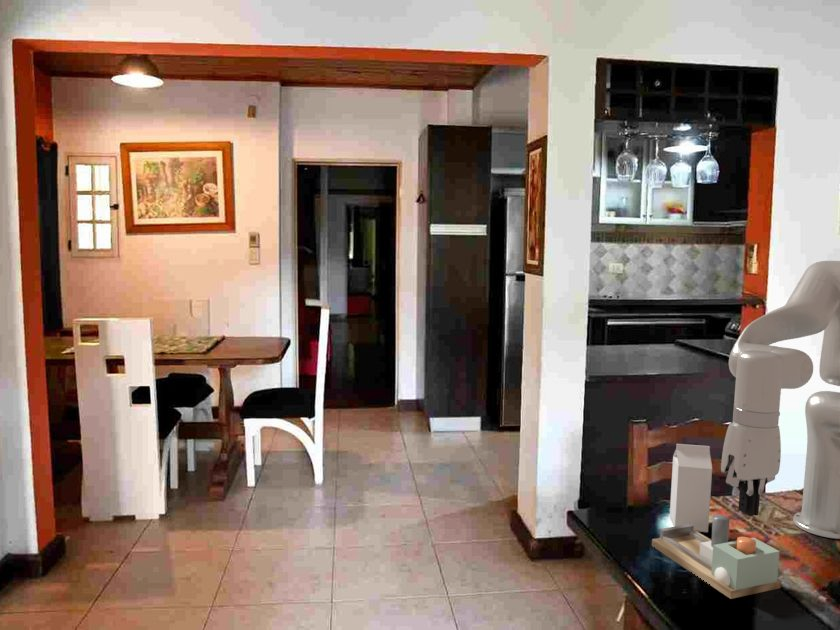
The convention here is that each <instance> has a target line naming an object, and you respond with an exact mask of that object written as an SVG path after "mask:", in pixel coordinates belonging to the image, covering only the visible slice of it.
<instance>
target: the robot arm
mask: <svg viewBox="0 0 840 630" xmlns="http://www.w3.org/2000/svg"><path fill="white" fill-rule="evenodd" d="M821 332H823V336H822V337H823V339H822V345H821V351H820V359H819V377H820V379H821V381H823V382H824V383H826V384H828V385H832V386H837V387H840V260H822V261H817V262H814V263H812V264H810V265H809V266H808V267H807V268H806V269H805V271H804V273H803V274H802V276H801V278H800V279H799V281H798V283H797V284H796V286H795V288H794V290H793V291H792V293H791V294H790V296H789V298H788V300H787V301H786V303H785V304H784V305H783V306H781V307H778V308H776V309H774V310H772V311H769V312H768V313H766V314H764V315H762V316H760V317H758V318H756V319H755V320H753V321H751V322H750V323H749V324H747V325H746V327H744V329H743V330H742V332H741V333H740V335H739V336H738V338H737V340H736V341H735V343H734V344H733V347H732V348H731V350H730V353H729V357H728V358H729V359H728V368H729V369H728V370H729V371H730V373H731V375H732V376H733V377H734V378H735V386H734V387H735V388H734V400H733V401H734V402H733V411H732V413H733V414H732V423H731V422H730V423H729V424H728V427H727V429H726V433H725V437H724V442H723V447H722V454H721V463H720V471H721V473H722V474H725V475H726V479H725V483H726V484H727V485H729V486H731V487H736V490H737V491H739V495H738V496H739V499H738V511H739V512H741V513H743V514H744V515H745V514H746V515H747V516H749V517H753V516H758V515H759V512H760V511H759V509H760V498H761V495H762V494H763V493H764V489H765V486H767V484H769V483H770V482H773V481H775V480H776V476H777V475H779V471H780V467H781V455H782V454H781V453H782V449H781V448H782V443H781V430H780V426H779V419H780V415H781V413H780V403H781V394H782V392H781V391H782V390H784V389H787V390H795V389H799V388H801V387H803V386H805V385H806V384H807V383H809V381H810V380H811V378H812V376H813V373H814V362H813V360H812V358H811V357H810V355H809V354H808V353H806V352H804V351H802V350H800V349H796V348H790V347H783V346H782V347H780V346H777V345H773V344H774V343H778V342H783V341H788V340H794V339H800V338H805V337H809V336H813V335H817V334H819V333H821ZM804 410H805V413H804V415H805V423H806V434H807V438H806V440H807V441H806V442H807V443H806V456H805V466H804V479H803V488H802V492H803V493H802V500H801V501H802V504H801V511H800V512H795V514H794V515H793V516H792V520H793V523H794V525H795V526H797V527H798V528H800V529H801V530H803V531H805V532H807V533H809V534H811V535H812V534H813V535H815V536H819V537H823V538H829V539H836V540H837V539H838V540H840V392H839V391H830V390H821V391H816V392H814V393H812V394H811V395H810V396H808V398H807V400H806V402H805V409H804Z"/></svg>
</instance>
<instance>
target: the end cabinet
mask: <svg viewBox="0 0 840 630" xmlns="http://www.w3.org/2000/svg"><path fill="white" fill-rule="evenodd" d="M750 538H751V539H753V540H755V541H756V550H755V554H750V555H745V554H743V553H742V552H740V551H738V550H737V540H732V541H728V542H727V543H721V544H716V545H713V556H712V571H711V575H713V576H714V577H715V579H717V580H718V581H720V582H721V583H723V584H724V585H726V586H727V587H728V586H730V587H731V588H733V589H734V590H741V592H742V589H743V591H744V592H743V593H744V594H745V589H744V588H762V587H760V586H761V585H763V584H765V586H766V585H767V586H770V583H771V584H772V586H773V584H774V583H772V582H777V578H778V574H779V563H780V562H779V560H780V550H778V549H776V548H774V547H772V546H771V545H769V544H766V543H765V542H763V541H762V540H759V539H758V538H756V537H750ZM767 583H768V584H769V585H768V584H767ZM758 585H760V586H759V587H758ZM774 585H776V583H775V584H774ZM754 586H757V587H754ZM776 586H777V585H776ZM763 588H764V585H763ZM767 588H768V587H767ZM773 588H777V587H773ZM750 590H751V591H752V589H750ZM750 590H749V591H750ZM753 590H754V589H753ZM761 590H762V591H763V590H765V589H761ZM749 591H748V592H749ZM758 591H759V589H758ZM758 591H757V592H758ZM769 591H772V590H771V589H770V590H769ZM735 592H736V591H735ZM754 592H755V591H754ZM765 592H768V591H767V589H766V591H765ZM750 593H751V592H750ZM755 593H756V592H755ZM759 593H762V592H761V591H759V592H758V593H756V594H759ZM735 594H737V593H735ZM744 594H743V595H744ZM739 595H740V594H739ZM751 595H754V594H753V592H752V594H751ZM747 596H750V595H749V594H747ZM736 597H737V596H735V598H734V599H736ZM737 598H740V597H739V596H738V597H737Z"/></svg>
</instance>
